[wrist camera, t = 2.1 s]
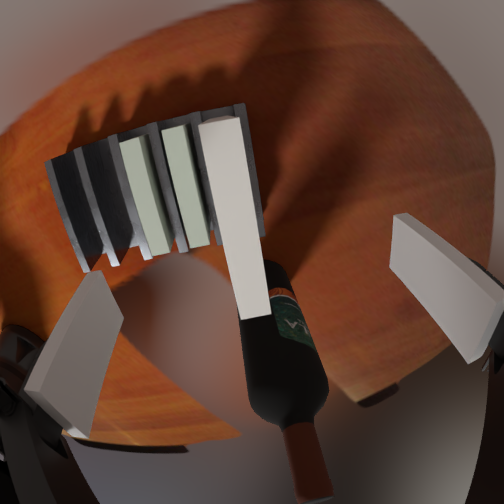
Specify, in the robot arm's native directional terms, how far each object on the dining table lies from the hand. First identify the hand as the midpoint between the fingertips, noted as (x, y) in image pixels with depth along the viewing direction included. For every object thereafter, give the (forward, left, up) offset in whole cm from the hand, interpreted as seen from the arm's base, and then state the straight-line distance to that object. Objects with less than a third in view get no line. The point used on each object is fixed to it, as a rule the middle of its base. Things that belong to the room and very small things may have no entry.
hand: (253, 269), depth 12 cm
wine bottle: (+1, -17, -24) cm, 29 cm away
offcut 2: (-4, 0, -22) cm, 22 cm away
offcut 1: (-9, 0, -22) cm, 24 cm away
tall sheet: (0, 0, -22) cm, 22 cm away
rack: (-9, 0, -24) cm, 25 cm away
